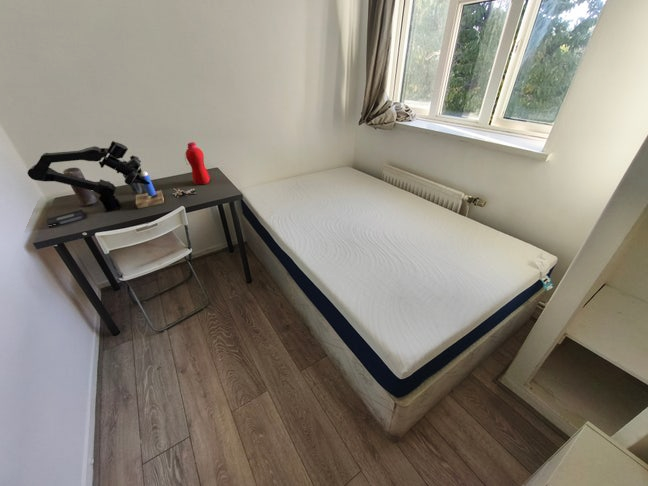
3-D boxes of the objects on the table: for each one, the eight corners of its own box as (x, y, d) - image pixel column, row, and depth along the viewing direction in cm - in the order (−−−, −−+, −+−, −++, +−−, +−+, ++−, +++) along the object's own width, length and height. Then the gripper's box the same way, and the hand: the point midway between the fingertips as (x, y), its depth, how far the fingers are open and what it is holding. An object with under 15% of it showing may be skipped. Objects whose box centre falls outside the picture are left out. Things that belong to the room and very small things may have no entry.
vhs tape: (84, 218, 141) (82, 214, 140) (49, 228, 134) (47, 224, 133) (83, 212, 146) (81, 209, 145) (49, 222, 139) (47, 218, 137)
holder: (138, 208, 149) (135, 203, 147) (138, 199, 157) (136, 195, 156) (164, 202, 154) (162, 198, 152) (163, 194, 162) (161, 190, 161)
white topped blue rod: (148, 196, 151) (138, 173, 143) (148, 193, 154) (138, 170, 146) (156, 195, 153) (146, 171, 145) (155, 192, 156) (146, 169, 148)
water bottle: (194, 180, 180) (182, 141, 165) (211, 179, 181) (200, 140, 166) (190, 185, 172) (177, 145, 158) (208, 184, 173) (196, 144, 158)
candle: (96, 199, 159) (78, 166, 147) (99, 203, 154) (80, 169, 143) (80, 203, 154) (60, 169, 142) (83, 208, 150) (62, 173, 138)
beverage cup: (133, 196, 161) (117, 163, 150) (130, 192, 166) (114, 159, 154) (146, 192, 165) (132, 160, 153) (143, 188, 170) (129, 156, 158)
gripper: (121, 158, 131) (155, 177, 141) (129, 147, 145) (159, 165, 155) (110, 176, 134) (144, 193, 143) (118, 164, 148) (149, 180, 157)
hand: (150, 182), depth 150 cm, fingers closed on white topped blue rod, 4 cm apart
